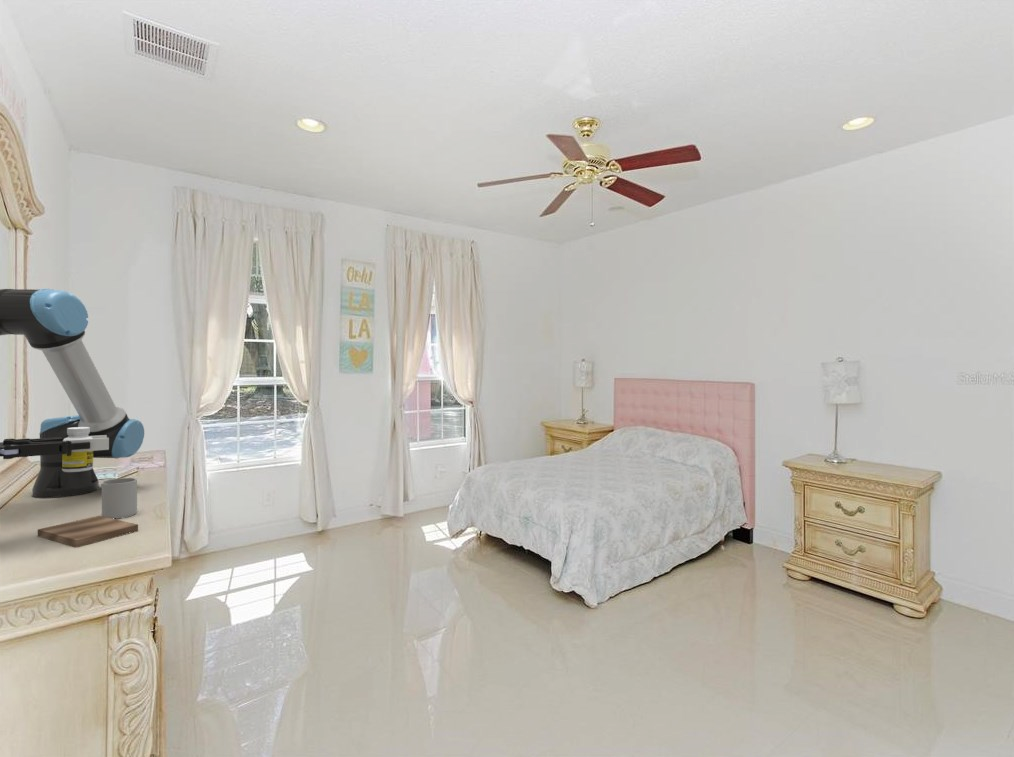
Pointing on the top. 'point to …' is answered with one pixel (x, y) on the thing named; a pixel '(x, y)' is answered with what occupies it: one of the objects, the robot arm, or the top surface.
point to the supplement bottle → (77, 459)
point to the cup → (119, 497)
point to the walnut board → (87, 530)
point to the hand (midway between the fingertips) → (107, 442)
